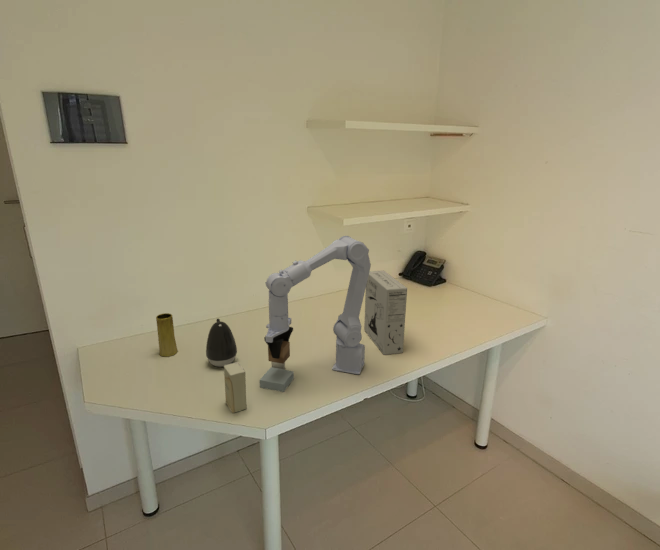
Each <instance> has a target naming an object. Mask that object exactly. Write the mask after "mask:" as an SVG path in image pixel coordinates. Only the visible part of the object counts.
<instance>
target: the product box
mask: <svg viewBox="0 0 660 550" xmlns="http://www.w3.org/2000/svg"><path fill="white" fill-rule="evenodd" d="M364 296H365V299H364V322H363V323H364V326H363V327H364V328H363V330H364V332H365V333H366V334H367V335H368V337H369V338H370V339H371V341H372V342H373V343H374V345H375V346H376V347H377V348H378V350H379V351H380V352H381V353H382V355H384V356H386V355H394V354H395V355H396V354H402V353H403V352H404V341H405V324H406V311H407V296H408V287H407V286H405V285H404V284H403V283H401V282H400V281H399V280H398V279H396V278H394V277H393V276H392V275H391V274H389V273H388V272H387V271H386V270H371V271H369V276H368V280H367V284H366V289H365V294H364Z"/></svg>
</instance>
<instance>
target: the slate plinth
mask: <svg viewBox="0 0 660 550" xmlns="http://www.w3.org/2000/svg"><path fill="white" fill-rule="evenodd" d="M294 372H295V371H294V370H288V369H285V370H284V369H278V368H273V367H272V366H271V367H269V369H268V370H267V371H266V372H265V373H264V374H263V375H262V376H261V378H260V379H259V388H261V389H264V390H271V391H276V392H281V393H284V392H285V391H286V390H287V388H288V387H289V386H290V385H291V383H292V382H293V380H294V379H295V373H294Z"/></svg>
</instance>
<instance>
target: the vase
mask: <svg viewBox="0 0 660 550" xmlns="http://www.w3.org/2000/svg"><path fill="white" fill-rule="evenodd" d="M155 319H156V326H157V338H158V339H157V340H158V349H159V354H158V355H160V356H161V357H172V356H175V355H176V354H177V353H178V351H179V350H178V347H177V342H176V336H175V329H174V327H175V326H174V319H173V314H172V313H168V312H166V313H164V312H163V313H160V314H158V315H156V316H155Z"/></svg>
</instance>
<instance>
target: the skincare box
mask: <svg viewBox="0 0 660 550" xmlns="http://www.w3.org/2000/svg"><path fill="white" fill-rule="evenodd" d="M223 372H224V373H223V375H224V391H225V393H224V394H225V403H226V405H227V407H228V408H229V410H230V411H231V412H230V413H232V414H235V413H238V412H241V411H244V410H247V387H246V386H247V385H246V384H247V383H246V382H247V381H246V380H247V379H246V370H245V369H244V368H243V366H242V365H241V364H240V362H238V361H236V362H232V363H231V364H228V365H224V366H223Z"/></svg>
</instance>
